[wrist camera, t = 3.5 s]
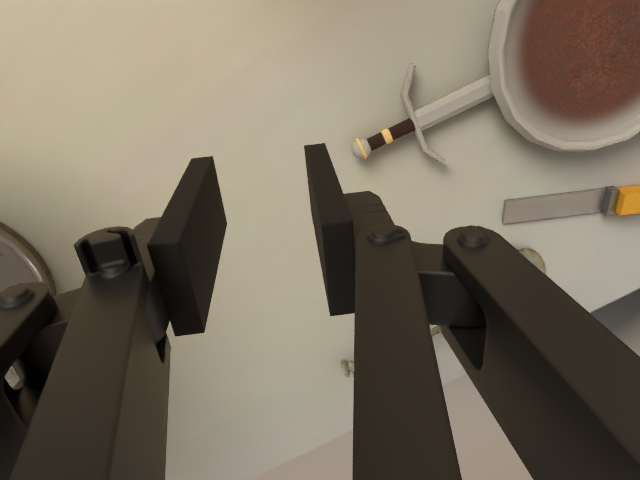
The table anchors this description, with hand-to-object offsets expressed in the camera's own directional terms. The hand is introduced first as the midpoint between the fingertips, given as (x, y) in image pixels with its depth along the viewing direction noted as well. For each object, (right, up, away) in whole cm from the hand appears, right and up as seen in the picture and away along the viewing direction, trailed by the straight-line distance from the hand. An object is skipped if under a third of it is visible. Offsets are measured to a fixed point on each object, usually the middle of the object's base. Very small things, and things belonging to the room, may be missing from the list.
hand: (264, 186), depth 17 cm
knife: (+27, +2, +23) cm, 36 cm away
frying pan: (+17, +11, +17) cm, 27 cm away
